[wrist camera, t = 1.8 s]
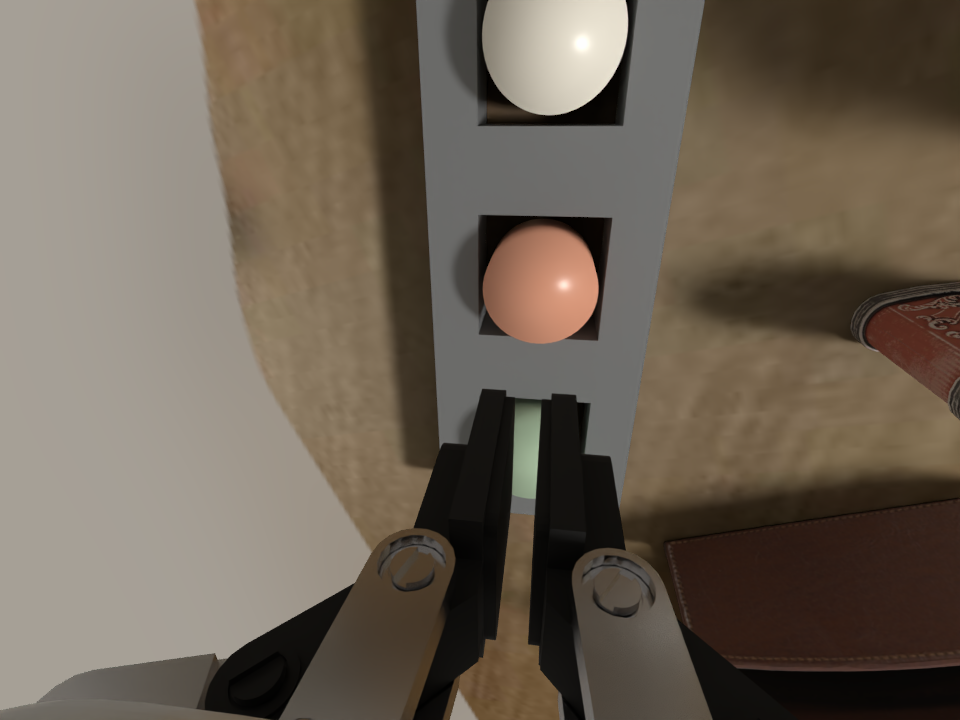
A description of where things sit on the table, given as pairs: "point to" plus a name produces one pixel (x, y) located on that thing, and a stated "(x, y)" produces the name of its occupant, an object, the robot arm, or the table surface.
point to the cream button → (553, 50)
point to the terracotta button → (541, 282)
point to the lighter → (917, 335)
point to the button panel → (550, 192)
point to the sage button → (526, 447)
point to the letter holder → (835, 610)
